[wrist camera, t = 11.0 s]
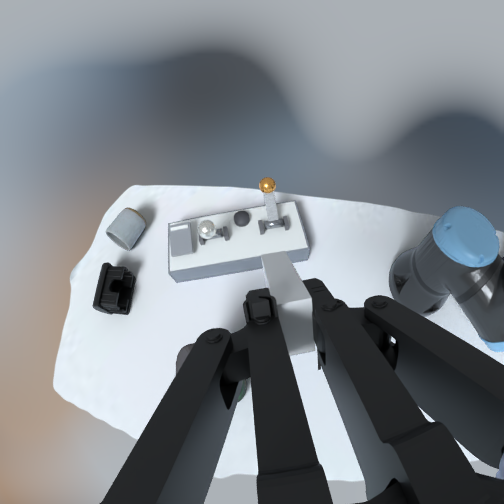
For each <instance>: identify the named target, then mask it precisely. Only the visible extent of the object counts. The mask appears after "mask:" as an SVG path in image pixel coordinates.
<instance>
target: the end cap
mask: <svg viewBox="0 0 504 504" xmlns="http://www.w3.org/2000/svg"><path fill="white" fill-rule="evenodd" d="M127 271H128V269H127V268H126V267H114V266H112V265H111V264H110V263H104V264H103V265H102V268H101V272H100V276H99V280H98V284H97V288H96V293H95V297H94V302H93V308H94V309H96V310H98V311H100V312H103V313H107V314H113V313H115V314H123V315H128V314H129V312H130V306H131V300H132V295H133V290H134V285H135V280H136V278H135V277H134V276H133V274H132V273H131V272H127Z"/></svg>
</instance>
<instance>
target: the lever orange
mask: <svg viewBox="0 0 504 504" xmlns="http://www.w3.org/2000/svg"><path fill="white" fill-rule="evenodd" d="M259 188H260V190H261V191H262V192H263V194H264V201H265V207H266V213H267V219H268V220H266V221H264V227H265V230H267V229H273V228H279V227H284V225H283V219H282V218H278V214H277V207H276V201H275V195H274V190H275V188H276V183H275V181H274V180H273V179H272V178H269V177H266V178H263V179H262V180H261V181H260V183H259Z"/></svg>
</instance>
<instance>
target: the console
mask: <svg viewBox="0 0 504 504" xmlns="http://www.w3.org/2000/svg"><path fill="white" fill-rule="evenodd" d="M276 207H277V214H278V218H282V219H283V225H284V227H279V228H273V229H267V230H265V227H264V221H266V220H268V219H267V213H266V207H265V206H259V207H253V208H247V209H241V210H235V211H230V212H224V213H219V214H214V215H208V216H203V217H198V218H193V219H188V220H183V221H178V222H173V223H168V271H169V275H170V276H171V277H172V278H173V279H174V280H175V282H176V283H178V282H184V281H191V280H197V279H203V278H209V277H215V276H221V275H227V274H233V273H239V272H244V271H250V270H256V269H262V268H263V265H262V259H261V255H263V254H268V253H274V252H280V251H285V252H286V254H287V255H288V257H289V259H290V261H291V262H292V263H295V262H301V261H306V260H308V256H309V251H310V247H309V244H308V240H307V237H306V233H305V230H304V227H303V223H302V220H301V217H300V213H299V210H298V207H297V204H296V201H290V202H283V203H277V204H276ZM204 220H210V221H212V222H213V223H214V224H215V226H216V229H220V228H222V232H223V237H222V238H216V239H211V240H205V239H204V238H202V237H201V236H200V235H199V234H198V230H197V228H198V225H199V223H200V222H202V221H204ZM185 222H190V223H191V230H192V240H193V250H194V253H193V254H188V255H182V256H177V257H172V256H171V247H170V234H169V226H170V225H175V224H180V223H185Z"/></svg>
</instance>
